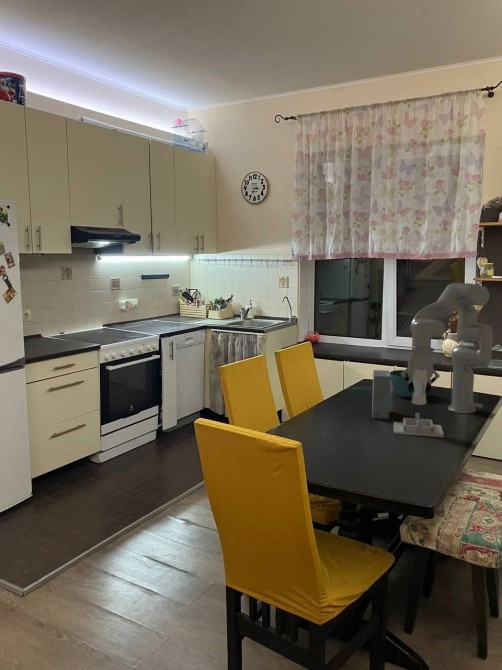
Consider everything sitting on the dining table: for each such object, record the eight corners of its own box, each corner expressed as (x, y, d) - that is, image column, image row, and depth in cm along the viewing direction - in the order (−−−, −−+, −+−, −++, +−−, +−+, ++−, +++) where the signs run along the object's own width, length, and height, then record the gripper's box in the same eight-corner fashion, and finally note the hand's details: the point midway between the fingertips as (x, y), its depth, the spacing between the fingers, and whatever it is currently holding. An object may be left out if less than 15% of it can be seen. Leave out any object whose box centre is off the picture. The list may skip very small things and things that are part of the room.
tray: (440, 427, 242) (441, 413, 241) (443, 437, 228) (444, 423, 228) (393, 424, 247) (393, 410, 246) (393, 433, 233) (394, 419, 232)
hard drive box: (389, 419, 253) (390, 376, 250) (372, 418, 255) (373, 376, 252) (387, 410, 268) (389, 370, 266) (371, 409, 270) (372, 369, 267)
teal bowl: (428, 400, 288) (429, 377, 286) (393, 400, 288) (394, 376, 286) (418, 391, 306) (419, 369, 304) (385, 391, 306) (386, 369, 304)
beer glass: (428, 401, 237) (430, 367, 235) (426, 405, 231) (427, 370, 229) (411, 400, 240) (413, 365, 238) (409, 403, 234) (410, 368, 232)
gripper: (442, 350, 234) (440, 391, 237) (399, 348, 238) (398, 389, 241) (443, 353, 227) (441, 395, 230) (399, 351, 231) (398, 393, 234)
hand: (419, 392), depth 235 cm, fingers closed on beer glass, 6 cm apart
